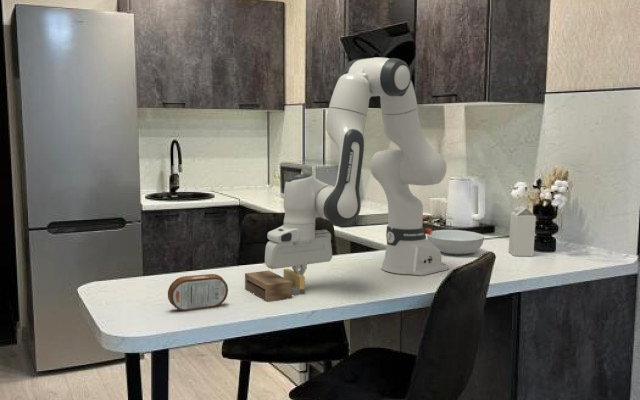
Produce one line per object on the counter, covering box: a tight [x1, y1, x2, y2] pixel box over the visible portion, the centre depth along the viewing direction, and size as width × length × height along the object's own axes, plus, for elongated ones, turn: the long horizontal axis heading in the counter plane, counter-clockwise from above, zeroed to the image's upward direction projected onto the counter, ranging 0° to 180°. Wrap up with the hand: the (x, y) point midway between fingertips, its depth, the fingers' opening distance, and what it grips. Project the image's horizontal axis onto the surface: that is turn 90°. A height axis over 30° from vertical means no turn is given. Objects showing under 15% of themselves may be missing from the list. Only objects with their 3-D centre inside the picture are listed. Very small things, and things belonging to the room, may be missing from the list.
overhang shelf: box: [244, 270, 293, 302], centre depth 165 cm, size 8×14×4 cm, turn 31°
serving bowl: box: [426, 229, 485, 256], centre depth 225 cm, size 21×21×7 cm
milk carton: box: [508, 202, 537, 257], centre depth 223 cm, size 7×7×19 cm
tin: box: [167, 273, 229, 312], centre depth 151 cm, size 15×3×8 cm, turn 118°
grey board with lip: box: [282, 268, 306, 296], centre depth 167 cm, size 11×10×5 cm
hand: (299, 280), depth 170 cm, fingers closed
